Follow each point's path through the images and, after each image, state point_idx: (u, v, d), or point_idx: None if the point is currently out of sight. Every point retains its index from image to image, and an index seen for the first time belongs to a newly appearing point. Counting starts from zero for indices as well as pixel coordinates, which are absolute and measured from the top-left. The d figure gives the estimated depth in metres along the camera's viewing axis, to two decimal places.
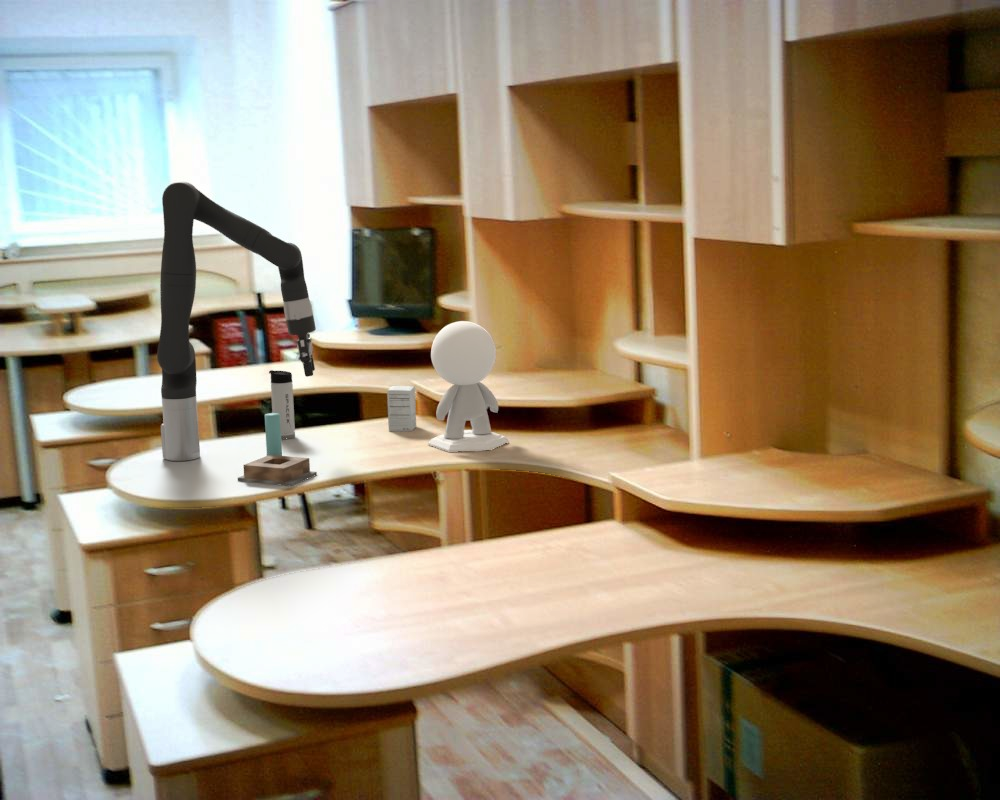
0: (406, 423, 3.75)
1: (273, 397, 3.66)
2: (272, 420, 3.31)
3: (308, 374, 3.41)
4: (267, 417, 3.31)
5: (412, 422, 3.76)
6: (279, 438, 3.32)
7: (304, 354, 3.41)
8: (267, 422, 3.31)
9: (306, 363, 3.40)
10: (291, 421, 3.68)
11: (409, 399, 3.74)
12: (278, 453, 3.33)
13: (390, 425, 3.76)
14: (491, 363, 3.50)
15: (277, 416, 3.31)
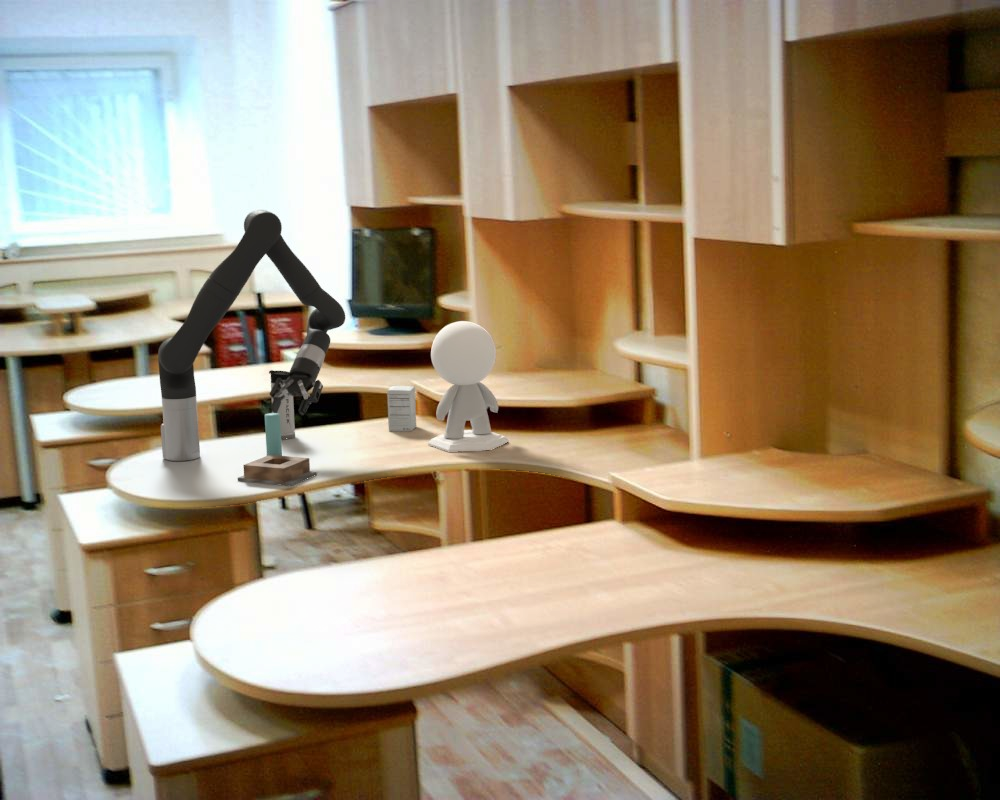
0: (406, 423, 3.75)
1: None
2: (272, 420, 3.31)
3: (302, 411, 3.37)
4: (267, 417, 3.31)
5: (412, 422, 3.76)
6: (279, 438, 3.32)
7: None
8: (267, 422, 3.31)
9: (308, 402, 3.39)
10: (291, 421, 3.68)
11: (409, 399, 3.74)
12: (278, 453, 3.33)
13: (390, 425, 3.76)
14: (491, 363, 3.50)
15: (277, 416, 3.31)
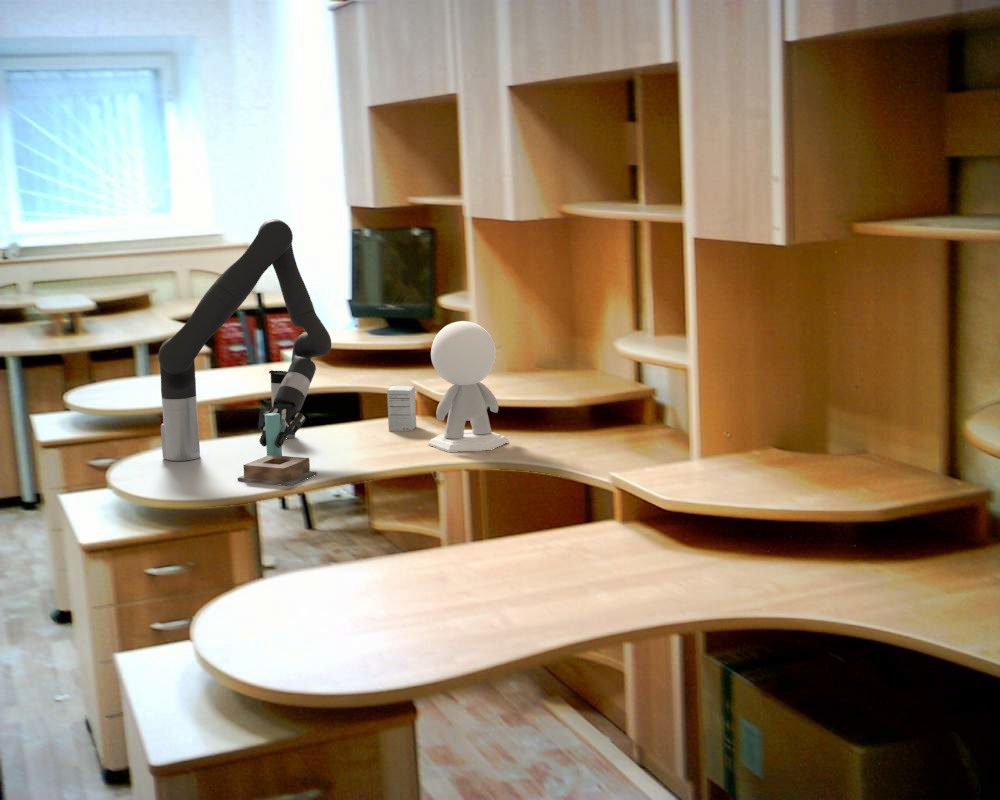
0: (406, 423, 3.75)
1: (273, 397, 3.66)
2: (272, 420, 3.30)
3: (278, 444, 3.31)
4: (267, 417, 3.31)
5: (412, 422, 3.76)
6: None
7: None
8: (267, 422, 3.31)
9: (285, 434, 3.32)
10: None
11: (409, 399, 3.74)
12: (278, 453, 3.33)
13: (390, 425, 3.76)
14: (491, 363, 3.50)
15: (277, 416, 3.31)
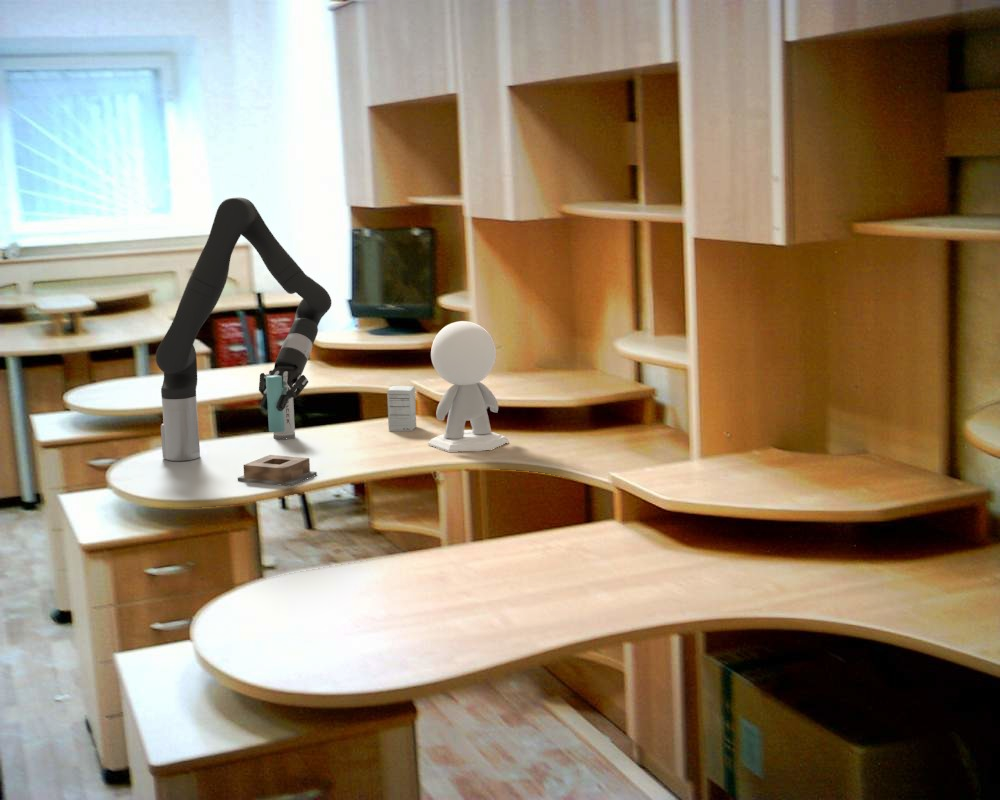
0: (406, 423, 3.75)
1: None
2: (274, 382, 3.17)
3: (280, 407, 3.17)
4: (268, 379, 3.17)
5: (412, 422, 3.76)
6: None
7: None
8: (268, 384, 3.17)
9: (287, 397, 3.19)
10: (291, 421, 3.68)
11: (409, 399, 3.74)
12: (280, 417, 3.19)
13: (390, 425, 3.76)
14: (491, 363, 3.50)
15: (279, 378, 3.18)
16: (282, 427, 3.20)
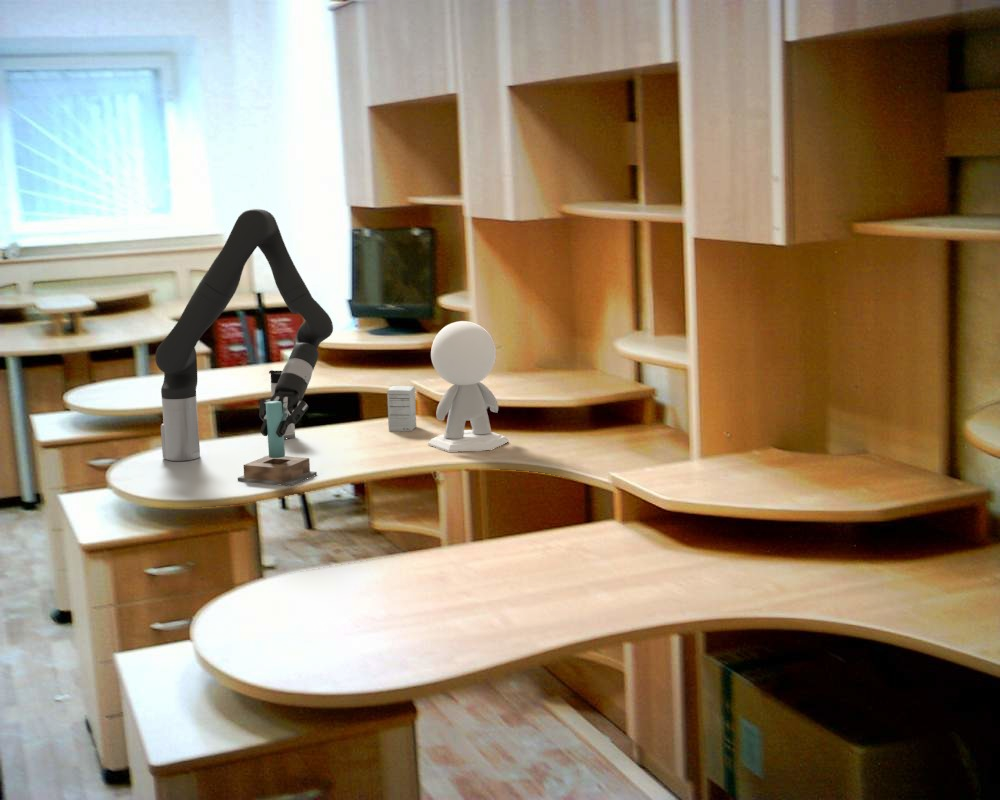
0: (406, 423, 3.75)
1: None
2: (274, 408, 3.16)
3: (280, 433, 3.17)
4: (268, 405, 3.17)
5: (412, 422, 3.76)
6: None
7: None
8: (268, 410, 3.17)
9: (287, 423, 3.18)
10: None
11: (409, 399, 3.74)
12: (280, 443, 3.19)
13: (390, 425, 3.76)
14: (491, 363, 3.50)
15: (279, 404, 3.17)
16: (282, 453, 3.19)
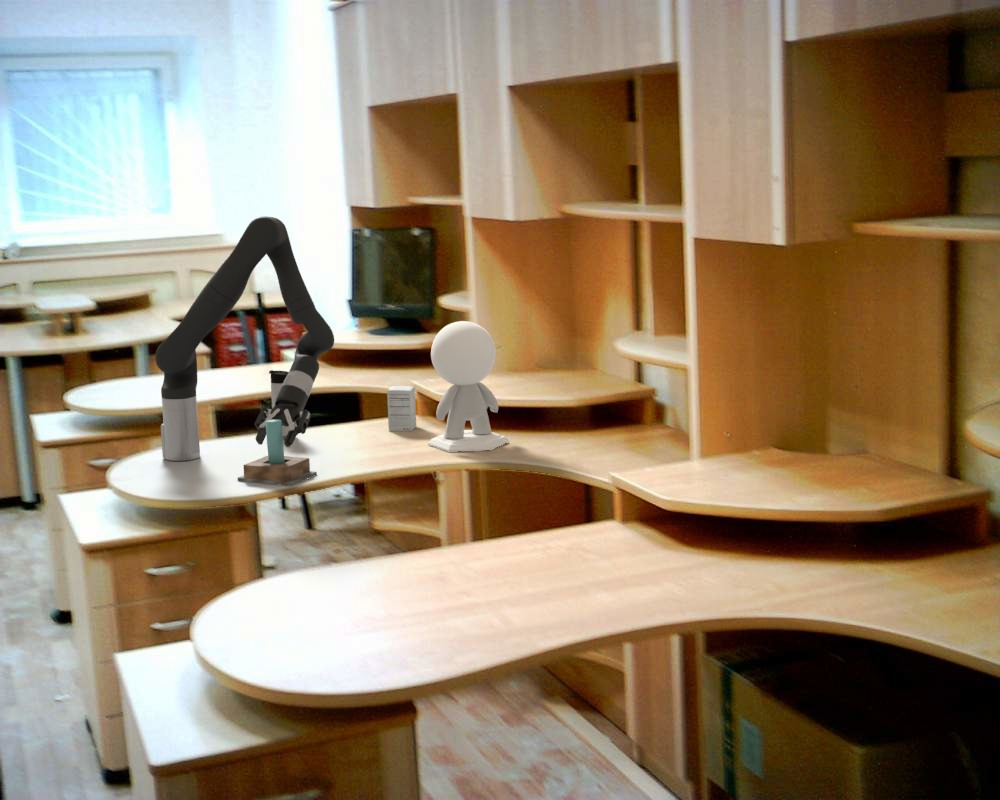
0: (406, 423, 3.75)
1: (273, 397, 3.66)
2: (274, 427, 3.17)
3: (288, 443, 3.17)
4: (268, 424, 3.17)
5: (412, 422, 3.76)
6: (281, 445, 3.19)
7: None
8: (268, 429, 3.18)
9: (295, 433, 3.19)
10: None
11: (409, 399, 3.74)
12: (280, 461, 3.20)
13: (390, 425, 3.76)
14: (491, 363, 3.50)
15: (278, 422, 3.18)
16: None
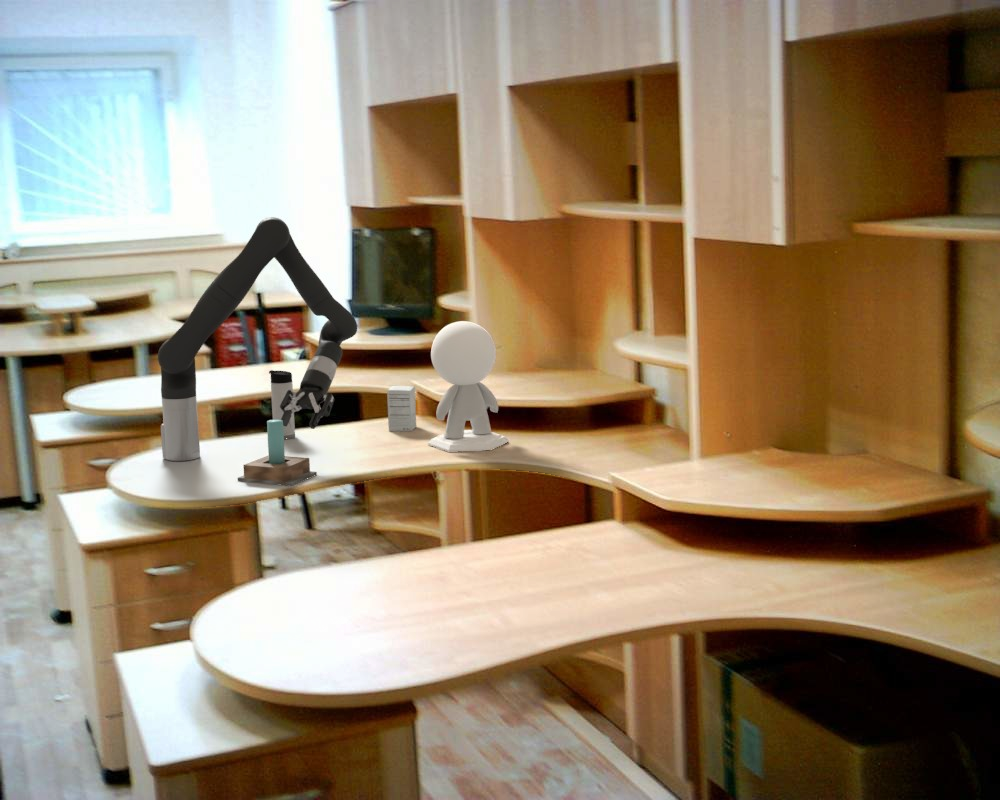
0: (406, 423, 3.75)
1: (273, 397, 3.66)
2: (275, 427, 3.17)
3: (313, 425, 3.29)
4: (269, 424, 3.17)
5: (412, 422, 3.76)
6: (282, 446, 3.19)
7: None
8: (269, 429, 3.18)
9: (319, 415, 3.31)
10: (291, 421, 3.68)
11: (409, 399, 3.74)
12: (281, 461, 3.20)
13: (390, 425, 3.76)
14: (491, 363, 3.50)
15: (280, 423, 3.18)
16: None
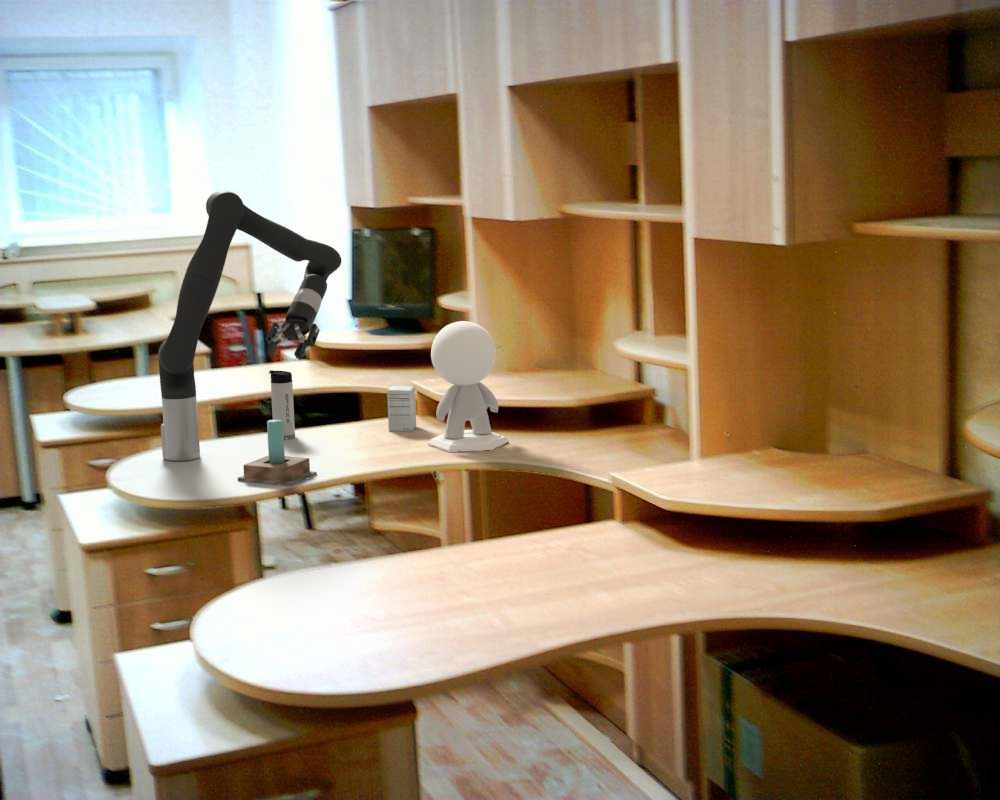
0: (406, 423, 3.75)
1: (273, 397, 3.66)
2: (275, 427, 3.17)
3: (298, 355, 3.34)
4: (269, 424, 3.17)
5: (412, 422, 3.76)
6: (282, 446, 3.19)
7: None
8: (269, 429, 3.18)
9: (305, 345, 3.35)
10: (291, 421, 3.68)
11: (409, 399, 3.74)
12: (281, 461, 3.20)
13: (390, 425, 3.76)
14: (491, 363, 3.50)
15: (280, 423, 3.18)
16: None
